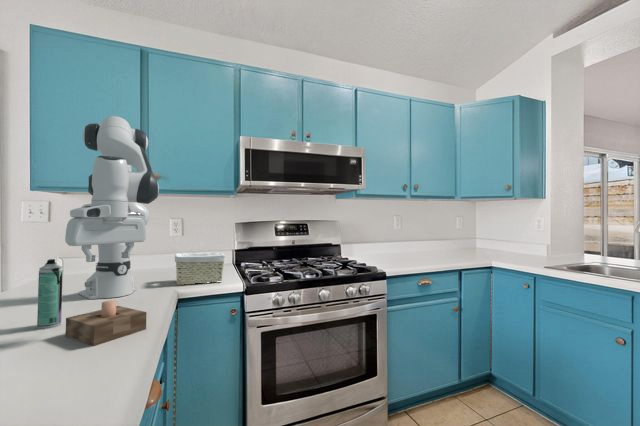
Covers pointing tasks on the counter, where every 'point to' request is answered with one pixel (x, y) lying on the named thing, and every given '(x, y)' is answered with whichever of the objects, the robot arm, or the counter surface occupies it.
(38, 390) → the counter surface
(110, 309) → the pin
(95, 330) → the bore block
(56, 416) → the counter surface
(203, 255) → the storage basket
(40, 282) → the spray can
